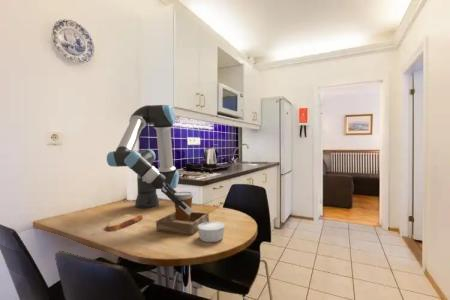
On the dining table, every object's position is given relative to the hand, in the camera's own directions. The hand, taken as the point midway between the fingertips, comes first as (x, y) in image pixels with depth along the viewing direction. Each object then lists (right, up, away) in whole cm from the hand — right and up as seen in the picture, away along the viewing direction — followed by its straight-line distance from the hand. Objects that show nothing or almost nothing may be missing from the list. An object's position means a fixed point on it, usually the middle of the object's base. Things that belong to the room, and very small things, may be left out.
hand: (190, 210), depth 114 cm
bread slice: (-33, -9, +6) cm, 35 cm away
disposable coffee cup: (-3, -4, 0) cm, 5 cm away
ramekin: (+11, -8, -16) cm, 21 cm away
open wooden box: (-3, -8, 0) cm, 8 cm away
